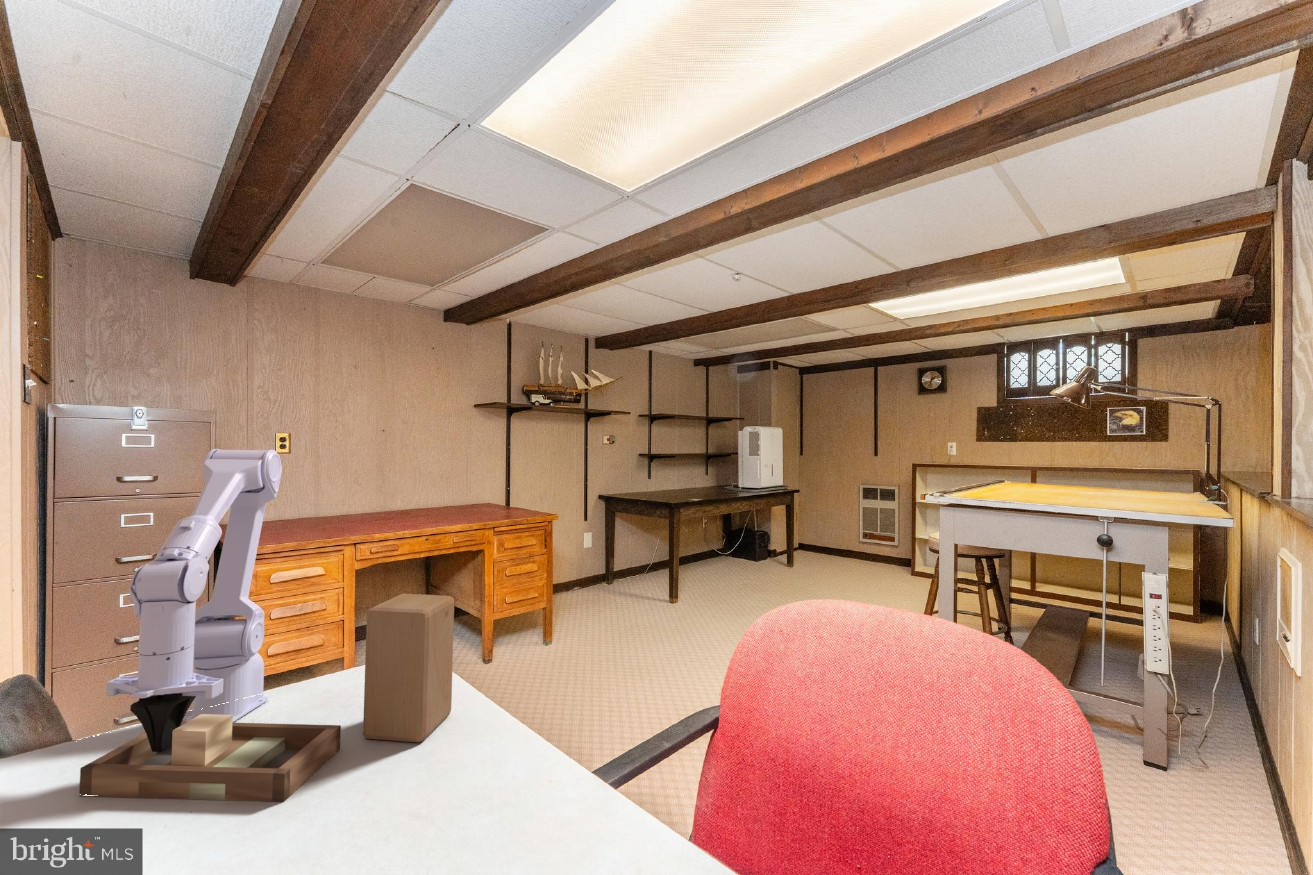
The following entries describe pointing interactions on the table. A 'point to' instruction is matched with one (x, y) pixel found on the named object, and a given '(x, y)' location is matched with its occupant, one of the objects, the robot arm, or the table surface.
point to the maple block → (201, 739)
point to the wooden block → (408, 667)
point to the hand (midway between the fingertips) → (163, 747)
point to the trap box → (218, 766)
